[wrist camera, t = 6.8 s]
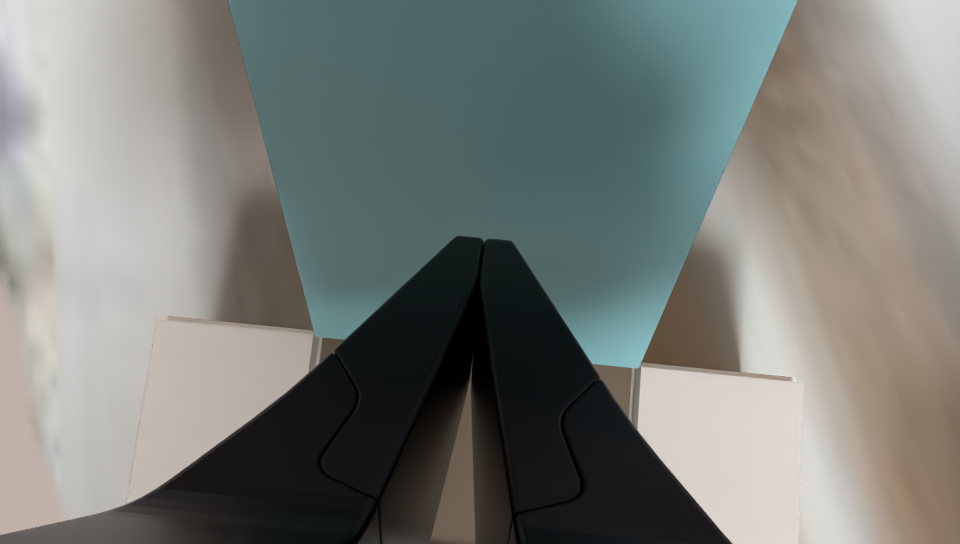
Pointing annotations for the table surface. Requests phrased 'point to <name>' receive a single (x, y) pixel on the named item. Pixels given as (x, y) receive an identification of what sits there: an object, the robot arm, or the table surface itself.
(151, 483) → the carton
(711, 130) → the flap
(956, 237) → the table surface
